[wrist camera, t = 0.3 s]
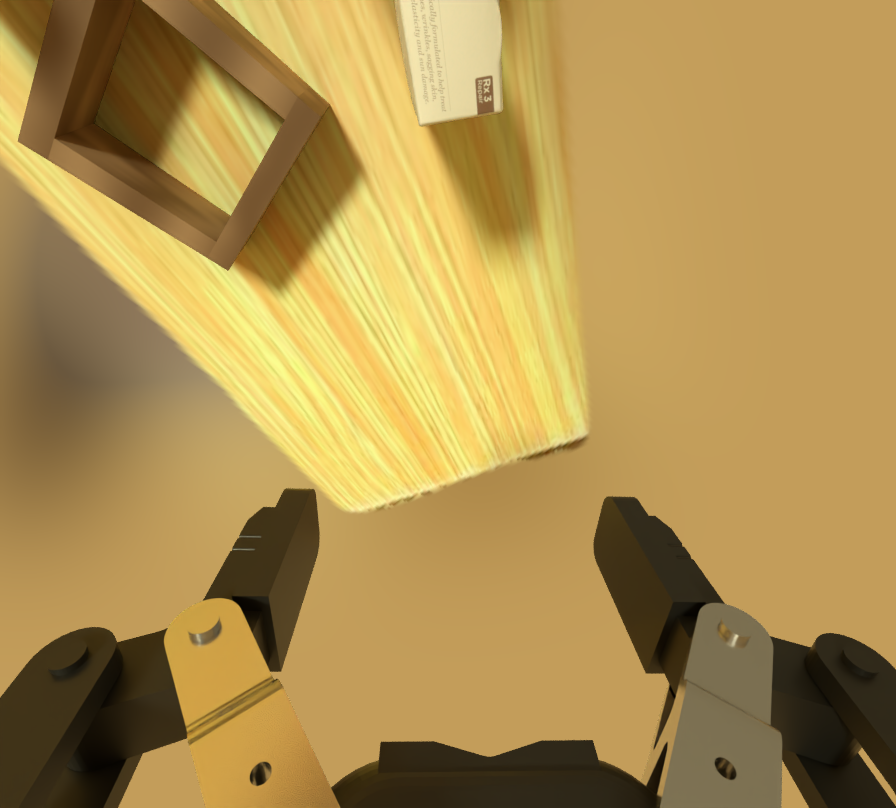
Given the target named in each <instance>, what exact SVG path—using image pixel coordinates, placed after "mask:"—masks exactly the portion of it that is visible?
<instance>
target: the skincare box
mask: <svg viewBox="0 0 896 808" xmlns="http://www.w3.org/2000/svg"><path fill="white" fill-rule="evenodd" d="M394 3H395V11H396V18H397V25H398V31H399V37H400V43H401V49H402V55H403V61H404V66H405V72H406V77H407V82H408V86H409V90H410V94H411V99H412V102H413V106H414V110H415V113H416V116H417V118H418V122H419V126H428V125H433V124H439V123H444V122H450V121H455V120H461V119H467V118H473V117H480V116H486V115H492V114H498V113H501V112H502V111H503V94H502V66H501V50H502V21H501V14H500V7H499V0H394Z"/></svg>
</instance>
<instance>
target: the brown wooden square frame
mask: <svg viewBox="0 0 896 808" xmlns="http://www.w3.org/2000/svg"><path fill="white" fill-rule="evenodd" d="M142 1H143V2H144V3H145V4H147V5H148V6H149V7H150V8H151V9H153V10H154V11H155V12H156V13H157V14H159V15H160V16H161V17H162V18H163V19H165V20H166V21H167V22H168V23H169V24H171V25H172V26H173V27H174V28H175V29H177V30H178V31H179V32H180V33H181V34H183V35H184V36H185V37H186V38H187V39H189V40H190V41H191V42H192V43H193V44H195V45H196V46H197V47H198V48H199V49H201V50H202V51H203V52H204V53H205V54H207V55H208V56H209V57H210V58H211V59H213V60H214V61H215V62H216V63H217V64H219V65H220V66H221V67H222V68H223V69H225V70H226V71H227V72H228V73H229V74H231V75H232V76H233V77H234V78H235V79H237V80H238V81H239V82H240V83H241V84H243V85H244V86H245V87H246V88H247V89H249V90H250V91H251V92H252V93H253V94H255V95H256V96H257V97H258V98H259V99H261V100H262V101H263V102H264V103H265V104H267V105H268V106H269V107H270V108H271V109H273V110H274V111H275V112H276V113H277V114H279V115H280V116H281V117H282V118H283V119H285V121H284V123H283V124H282V126H281V128H280V130H279V131H278V133H277V135H276V137H275V139H274V140H273V142H272V144H271V146H270V147H269V149H268V151H267V153H266V155H265V156H264V158H263V160H262V162H261V163H260V165H259V167H258V169H257V171H256V172H255V174H254V176H253V178H252V179H251V181H250V183H249V185H248V187H247V188H246V190H245V192H244V194H243V196H242V197H241V199H240V201H239V203H238V204H237V206H236V208H235V210H234V212H233V213H232V215H231V216H230V215H228V214H227V213H225V212H224V211H222V210H221V209H219V208H218V207H216V206H215V205H213V204H212V203H210V202H209V201H208V200H206V199H205V198H203V197H202V196H200V195H199V194H197V193H196V192H194V191H193V190H191V189H190V188H188V187H187V186H185V185H184V184H182V183H181V182H179V181H178V180H176V179H175V178H174V177H172V176H171V175H169V174H168V173H166V172H165V171H163V170H162V169H160V168H159V167H157V166H156V165H154V164H153V163H151V162H150V161H148V160H147V159H145V158H144V157H143V156H141V155H140V154H138V153H137V152H135V151H134V150H132V149H131V148H129V147H128V146H126V145H125V144H123V143H122V142H120V141H119V140H117V139H116V138H114V137H113V136H111V135H110V134H109V133H107V132H106V131H104V130H103V129H101V128H100V127H98V126H97V125H95V124H94V121H95V118H96V115H97V112H98V109H99V106H100V103H101V100H102V97H103V94H104V91H105V88H106V85H107V82H108V79H109V76H110V73H111V70H112V67H113V65H114V62H115V59H116V56H117V53H118V50H119V47H120V44H121V41H122V38H123V35H124V32H125V29H126V26H127V23H128V20H129V17H130V14H131V11H132V8H133V6H134V3H135V0H54V1H53V5H52V9H51V13H50V17H49V21H48V25H47V28H46V32H45V36H44V40H43V44H42V48H41V52H40V56H39V60H38V64H37V68H36V72H35V76H34V79H33V83H32V87H31V91H30V95H29V99H28V103H27V107H26V111H25V115H24V119H23V123H22V126H21V130H20V134H19V138H18V142H20V143H21V144H23V145H24V146H26V147H28V148H29V149H31V150H33V151H34V152H36V153H37V154H39V155H41V156H42V157H44V158H46V159H47V160H49V161H51V162H52V163H54V164H55V165H57V166H59V167H60V168H62V169H64V170H65V171H67V172H68V173H70V174H72V175H73V176H75V177H77V178H78V179H80V180H81V181H83V182H85V183H86V184H88V185H90V186H91V187H93V188H94V189H96V190H98V191H99V192H101V193H103V194H104V195H106V196H107V197H109V198H111V199H112V200H114V201H116V202H117V203H119V204H120V205H122V206H124V207H125V208H127V209H129V210H130V211H132V212H134V213H135V214H137V215H138V216H140V217H142V218H143V219H145V220H147V221H148V222H150V223H151V224H153V225H155V226H156V227H158V228H160V229H161V230H163V231H164V232H166V233H168V234H169V235H171V236H173V237H174V238H176V239H177V240H179V241H181V242H182V243H184V244H186V245H187V246H189V247H190V248H192V249H194V250H195V251H197V252H199V253H200V254H202V255H203V256H205V257H207V258H208V259H210V260H212V261H213V262H215V263H217V264H218V265H220V266H221V267H223V268H225V269H226V270H229V269H230V267H231V266H232V264H233V263H234V261H235V260H236V258H237V257H238V255H239V254H240V252H241V251H242V249H243V247H244V246H245V244H246V243H247V241H248V239H249V238H250V236H251V234H252V233H253V231H254V229H255V228H256V226H257V224H258V223H259V221H260V219H261V218H262V216H263V214H264V213H265V211H266V210H267V208H268V206H269V205H270V203H271V201H272V200H273V198H274V196H275V195H276V193H277V191H278V190H279V188H280V186H281V185H282V183H283V181H284V180H285V178H286V176H287V175H288V173H289V171H290V170H291V168H292V166H293V165H294V163H295V161H296V160H297V158H298V156H299V155H300V153H301V152H302V150H303V148H304V147H305V145H306V143H307V142H308V140H309V138H310V137H311V135H312V133H313V132H314V130H315V128H316V127H317V125H318V123H319V122H320V120H321V118H322V117H323V115H324V113H325V112H326V110H327V108H328V107H329V105H330V104H329V103H328V102H327V101H325V100H324V99H323V98H322V97H321V96H320V95H319V94H318V93H317V92H315V91H314V90H313V89H312V88H311V87H310V86H309V85H308V84H307V83H305V82H304V81H303V80H302V79H301V78H300V77H299V76H298V75H297V74H295V73H294V72H293V71H292V70H291V69H290V68H289V67H288V66H287V65H285V64H284V63H283V62H282V61H281V60H280V59H279V58H278V57H277V56H275V55H274V54H273V53H272V52H271V51H270V50H269V49H268V48H267V47H265V46H264V45H263V44H262V43H261V42H260V41H259V40H258V39H257V38H255V37H254V36H253V35H252V34H251V33H250V32H249V31H248V30H247V29H245V28H244V27H243V26H242V25H241V24H240V23H239V22H238V21H237V20H235V19H234V18H233V17H232V16H231V15H230V14H229V13H228V12H227V11H225V10H224V9H223V8H222V7H221V6H220V5H219V4H218V3H217V2H215V1H214V0H142Z"/></svg>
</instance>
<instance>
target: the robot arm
mask: <svg viewBox="0 0 896 808" xmlns="http://www.w3.org/2000/svg"><path fill="white" fill-rule="evenodd" d="M318 548H319V524H318V512H317V502H316V493H315V490H314V489H289V488H288V489H287V488H286V489H285V490H284V491H283V493H282V495H281V497H280V499H279V501H278V503H277V505H276V507H263V508H262V509H261V510H259V511H258V512H257V513H256V514H254V515H253V516H252V517H251V518H250V519H249V520H248V521H247V523H246V525H245V526H244V528H243V530H242V531H241V533H240V535H239V538H238V539H237V541H236V542H235V544H234V546H233V549H232V551H230V553H229V555H228V557H227V558H226V560H225V562H224V564H223V566H222V567H221V569H220V571H219V573H218V575H217V576H216V578H215V580H214V582H213V584H212V585H211V587H210V589H209V591H208V593H207V594H206V596H205V598H204V599H203V601H201V602H199V603H196V604H194V605H192V606H190V607H189V608H187V609H186V610H184V611H183V612H182V613H180V614H179V615H178V616H177V617H176V618H175V619H174V620H173V621H172V623H171V624H170V625H169V627H168V628H167V629H165V630H162V631H159V632H155V633H152V634H148V635H144V636H140V637H136V638H133V639H129V640H124V641H121V642H117V641H116V638H115V636H114V635H113V633H112V632H110V631H109V630H107V629H105V628H100V627H90V628H84V629H79V630H76V631H73V632H70V633H68V634H66V635H63V636H61V637H60V638H58V639H56V640H54V641H53V642H51V643H49V644H48V645H46V646H45V647H44V648H43V649H41V650H40V651H39V652H38V653H37V654H36V655H35V656H33V658H32V659H31V660H30V661H29V662H28V663H27V664H26V666H25V667H24V668H23V670H22V671H21V672H20V673H19V675H18V676H17V677H16V678H15V680H14V681H13V682H12V683H11V685H10V686H9V687H8V689H7V690H6V691H5V692H4V694H3V695H2V696H1V698H0V808H118V806H119V804H120V802H121V800H122V798H123V796H124V793H125V791H126V789H127V787H128V785H129V782H130V780H131V778H132V776H133V773H134V771H135V769H136V767H137V765H138V763H139V761H140V758H141V756H142V754H143V753H145V752H148V751H151V750H154V749H157V748H160V747H163V746H166V745H169V744H171V743H175V742H178V741H180V740H183V739H186V738H188V743H189V746H190V751H191V754H192V758H193V762H194V766H195V770H196V773H197V777H198V781H199V785H200V789H201V792H202V796H203V800H204V804H205V808H781V793H782V792H781V791H782V760H783V762H784V764H785V766H786V767H787V769H788V771H789V773H790V775H791V776H792V778H793V780H794V782H795V783H796V785H797V787H798V788H799V790H800V792H801V794H802V796H803V798H804V799H805V801H806V803H807V805H808V806H809V808H896V806H895V804H894V803H893V802H892V800H891V799H890V797H889V796H888V795H887V793H886V792H885V790H884V789H883V787H882V786H881V785H880V783H879V782H878V781H877V779H876V778H875V776H874V775H873V773H872V772H871V770H870V769H869V768H868V766H867V765H866V763H865V762H864V761H863V759H862V758H861V757H860V755H859V754H858V752H859V751H860V749H861V748H863V749H864V751H865V752H866V753H867V755H868V756H869V757H870V759H871V760H872V762H873V763H874V764H875V766H876V767H877V769H878V770H879V771H880V773H881V774H882V775H883V777H884V778H885V780H886V781H887V782H888V784H889V785H890V786H891V788H892V789H893V791H894V792H895V794H896V669H895V668H894V667H893V666H892V665H891V664H890V663H889V662H888V661H887V660H886V659H884V658H883V657H882V656H881V655H880V654H878V653H877V652H876V651H874V650H873V649H871V648H870V647H868V646H866V645H865V644H862V643H861V642H859V641H857V640H855V639H852V638H850V637H847V636H844V635H840V634H834V633H826V634H822V635H820V636H819V637H818V638H817V639H816V640H815V642H814V644H813V645H812V647H807V646H803V645H800V644H796V643H792V642H789V641H785V640H781V639H778V638H774V637H771V636H769V634H768V632H767V631H766V630H765V628H764V627H763V626H762V625H761V624H760V623H759V622H758V621H757V620H755V619H754V618H753V617H752V616H750V615H749V614H747V613H745V612H744V611H742V610H740V609H738V608H736V607H733V606H730V605H727V604H725V603H724V602H723V601H722V599H721V598H720V596H719V595H718V594H717V592H716V591H715V589H714V588H713V587H712V585H711V584H710V582H709V581H708V580H707V578H706V577H705V575H704V574H703V572H702V571H701V570H700V568H699V567H698V565H697V564H696V563H695V561H694V560H693V559H691V556H690V554H689V553H688V552H687V550H686V549H685V547H682V543H681V542H680V540H679V539H678V537H677V536H676V535H675V533H674V532H673V530H672V529H671V528H670V527H668V526H667V525H666V524H664V523H663V522H662V521H661V520H660V519H658V518H657V517H656V516H648V514H647V513H646V511H645V510H644V508H643V507H642V506H641V504H640V502H639V501H638V500H637V499H636V498H635V497H606V498H605V500H604V502H603V505H602V509H601V513H600V517H599V521H598V525H597V529H596V533H595V537H594V555H595V559H596V562H597V565H598V567H599V569H600V571H601V574H602V576H603V578H604V580H605V583H606V585H607V587H608V589H609V592H610V594H611V596H612V598H613V600H614V603H615V605H616V607H617V609H618V612H619V614H620V616H621V618H622V620H623V623H624V625H625V627H626V630H627V632H628V634H629V636H630V638H631V641H632V643H633V645H634V648H635V650H636V652H637V654H638V656H639V659H640V661H641V663H642V665H643V668H644V670H645V672H646V673H665V675H666V678H667V680H668V682H669V685H668V687H667V690H666V693H665V696H664V700H663V704H662V708H661V712H660V715H659V719H658V723H657V727H656V731H655V735H654V738H653V742H652V746H651V750H650V754H649V757H648V761H647V764H646V768H645V771H644V774H643V776H642V779H641V782H640V781H638V780H637V779H636V778H634V777H633V776H632V775H630V774H628V773H626V772H625V771H623V770H621V769H619V768H617V767H615V766H613V765H611V764H608V763H606V762H604V761H600V760H598V757H597V753H596V750H595V746H594V743H593V740H568V741H539V742H536V743H533V744H530V745H527V746H524V747H521V748H518V749H515V750H512V751H509V752H506V753H503V754H500V755H497V756H493V757H486V756H482V755H479V754H475V753H471V752H468V751H464V750H461V749H458V748H455V747H451V746H448V745H444V744H441V743H437V742H434V741H432V742H381V745H380V756H379V760H378V761H376V762H372V763H369V764H367V765H365V766H363V767H361V768H358V769H357V770H355V771H353V772H351V773H350V774H348V775H347V776H345V777H344V778H342V779H341V780H340V781H339V782H337V783H336V784H335V785H334V786H332V787H330V785H329V783H328V781H327V778H326V776H325V774H324V772H323V770H322V768H321V766H320V764H319V761H318V759H317V757H316V755H315V753H314V751H313V749H312V747H311V745H310V743H309V740H308V738H307V736H306V734H305V732H304V730H303V728H302V726H301V723H300V721H299V719H298V717H297V715H296V713H295V711H294V709H293V706H292V705H291V702H290V700H289V698H288V696H287V694H286V692H285V690H284V688H283V686H282V684H281V682H280V681H279V680H278V679H276V680H274V679H273V677H272V675H271V673H270V672H271V671H272V672H273V671H274V672H278V671H281V670H282V667H283V664H284V660H285V657H286V654H287V651H288V648H289V644H290V641H291V638H292V635H293V631H294V628H295V625H296V622H297V619H298V616H299V612H300V609H301V606H302V603H303V600H304V596H305V593H306V590H307V587H308V584H309V580H310V577H311V574H312V571H313V568H314V565H315V561H316V558H317V554H318Z"/></svg>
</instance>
